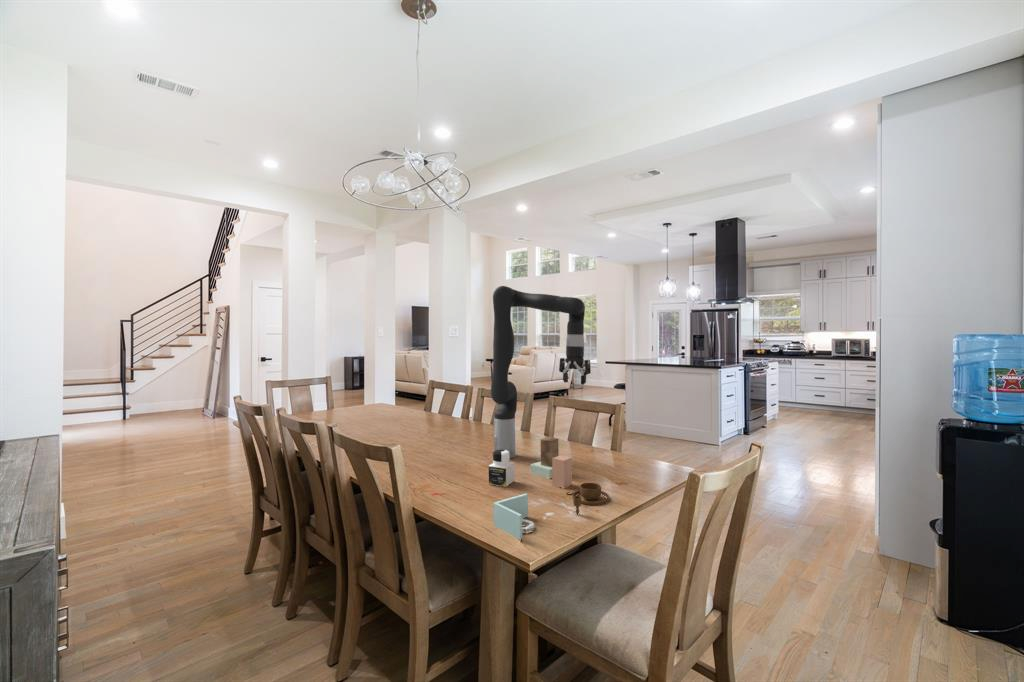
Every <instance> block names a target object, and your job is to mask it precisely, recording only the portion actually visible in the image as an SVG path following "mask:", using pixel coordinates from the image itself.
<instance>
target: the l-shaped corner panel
mask: <svg viewBox="0 0 1024 682" xmlns="http://www.w3.org/2000/svg"><path fill="white" fill-rule="evenodd" d="M492 505H493V507H492V508H493V509H492V510H493V515H492V516H493V517H492V518H493V527H494V526H496V527H497V528H500V529H501V530H503V531H505V532H507V533H509V534H510V535H512V536H514V537H516V538H518V539H522V540H523V534H522V533H523V532H529V531H532V530H534V531H535V527H536V526H535V523H534V521H532V520H529V519H526V518H525V517H528V518H529V495H528V493H522V494H520V495H516V496H511V497H509V498H505V499H502V500H498V501H495V502H492ZM522 518H525V519H522ZM522 525H527V526H522ZM529 533H530V532H529Z"/></svg>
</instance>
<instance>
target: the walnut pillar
mask: <svg viewBox="0 0 1024 682" xmlns="http://www.w3.org/2000/svg"><path fill="white" fill-rule="evenodd" d="M559 451H560V450H559V438H556V437H550V436H547V437H544V438H541V439H540V461H541V465H543V466H548V467H552V458H554V457H557V456H560V454H559Z"/></svg>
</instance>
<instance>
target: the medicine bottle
mask: <svg viewBox="0 0 1024 682" xmlns="http://www.w3.org/2000/svg"><path fill="white" fill-rule="evenodd" d="M510 459H511V458H509V451H507V450H496V451H493V452H492V463H490V464H489V465H488V485H490V486H495V485H496V486H497V487H502V486H503V487H504V488H507V487H508V486H510V485H511V484H512V483H513V482H515V463H514V462H511V461H510ZM509 484H510V485H509ZM496 486H495V487H496Z"/></svg>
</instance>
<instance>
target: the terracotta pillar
mask: <svg viewBox="0 0 1024 682" xmlns="http://www.w3.org/2000/svg"><path fill="white" fill-rule="evenodd" d="M572 459H573V458H572V457H570V456H565V455H561V454H559V456H557V457H554V458H552V487H555V486H557V487H556V488H559V487H561V488H560V489H563V488H565V489H566V487H567V488H569V487H571V486H572V485H573V474H572V473H573V467H572V466H573V465H572V462H573V460H572ZM570 485H571V486H570ZM568 486H569V487H568Z"/></svg>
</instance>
